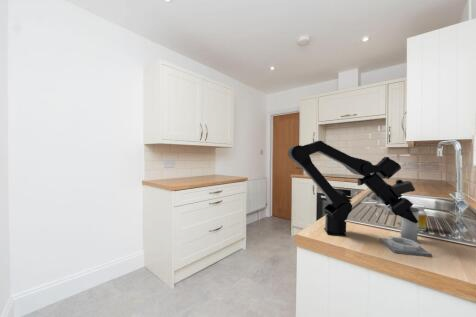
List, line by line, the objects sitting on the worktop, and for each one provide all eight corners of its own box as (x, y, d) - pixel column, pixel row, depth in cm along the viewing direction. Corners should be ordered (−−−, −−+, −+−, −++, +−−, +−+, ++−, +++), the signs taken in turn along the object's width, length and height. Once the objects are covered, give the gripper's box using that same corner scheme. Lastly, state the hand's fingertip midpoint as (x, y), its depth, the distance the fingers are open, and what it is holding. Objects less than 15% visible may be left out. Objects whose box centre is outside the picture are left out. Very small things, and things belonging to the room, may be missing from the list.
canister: (405, 240, 73) (407, 209, 73) (397, 234, 78) (399, 205, 78) (420, 241, 72) (422, 210, 72) (412, 236, 77) (413, 206, 77)
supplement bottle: (429, 231, 84) (430, 207, 84) (414, 230, 85) (415, 206, 85) (420, 226, 89) (421, 204, 89) (406, 225, 90) (407, 203, 90)
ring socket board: (394, 252, 64) (394, 246, 64) (378, 239, 74) (379, 234, 74) (431, 256, 62) (431, 250, 62) (410, 242, 72) (411, 237, 72)
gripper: (406, 175, 68) (449, 213, 63) (391, 171, 85) (425, 201, 80) (376, 196, 71) (415, 234, 67) (368, 188, 88) (399, 218, 84)
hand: (414, 220), depth 74 cm, fingers closed on canister, 5 cm apart
